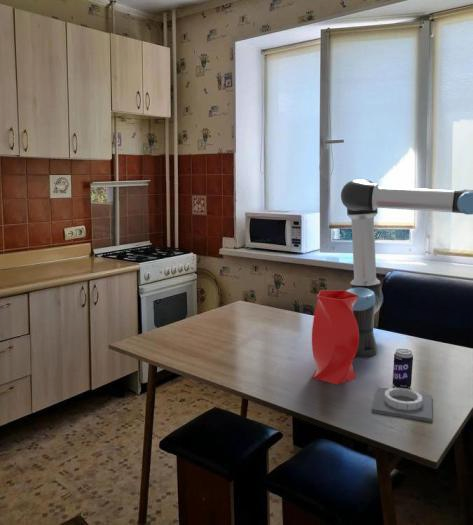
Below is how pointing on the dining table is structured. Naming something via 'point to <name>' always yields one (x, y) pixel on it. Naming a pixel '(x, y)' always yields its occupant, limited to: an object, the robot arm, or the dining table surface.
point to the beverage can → (402, 368)
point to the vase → (335, 336)
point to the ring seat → (403, 403)
